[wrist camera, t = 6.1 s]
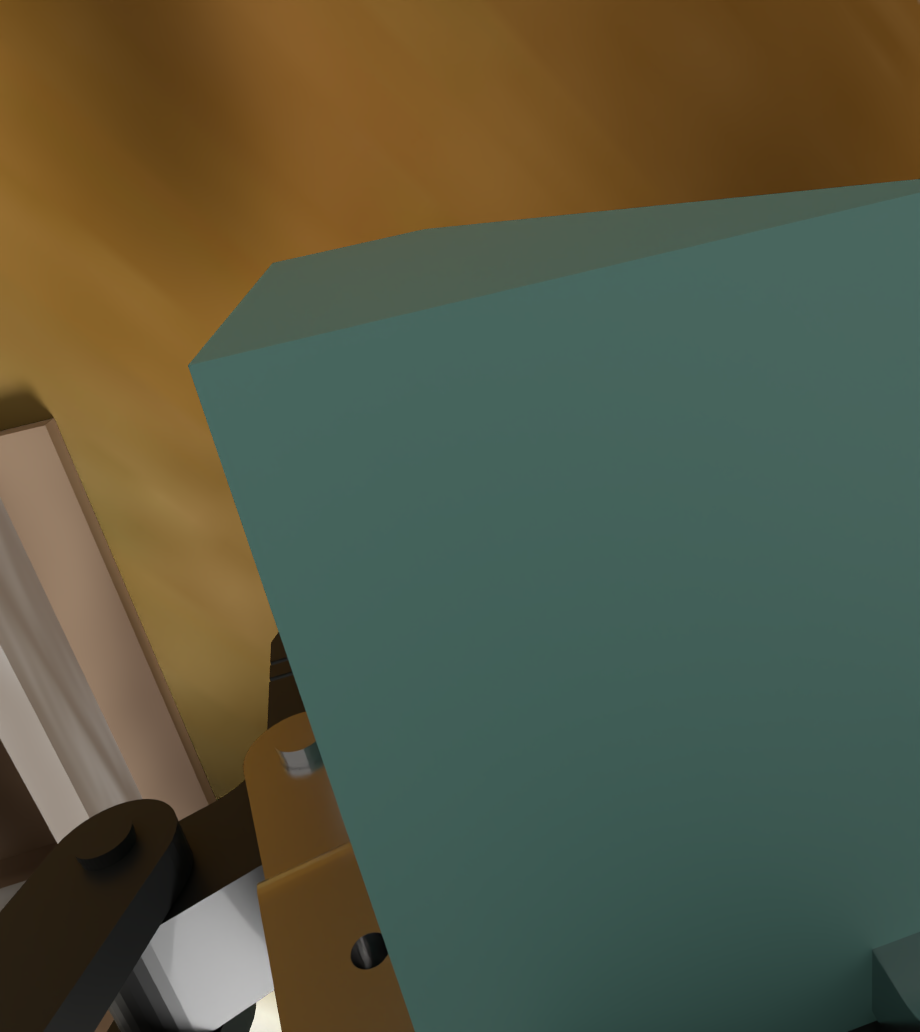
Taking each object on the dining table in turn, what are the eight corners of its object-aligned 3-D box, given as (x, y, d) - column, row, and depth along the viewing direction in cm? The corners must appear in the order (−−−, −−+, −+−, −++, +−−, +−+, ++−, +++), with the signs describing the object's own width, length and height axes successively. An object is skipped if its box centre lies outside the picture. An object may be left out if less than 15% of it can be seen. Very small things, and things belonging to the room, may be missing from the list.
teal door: (424, 229, 15) (1019, 166, 3) (520, 692, 19) (924, 1477, 7) (230, 272, 14) (-83, 428, 2) (372, 736, 18) (528, 1665, 6)
